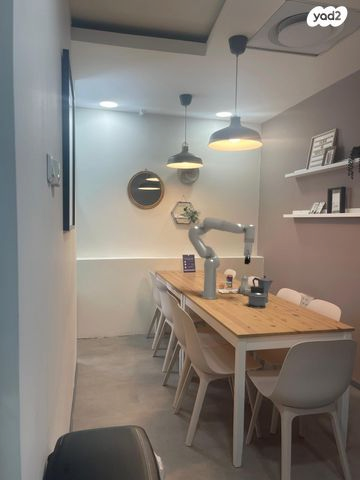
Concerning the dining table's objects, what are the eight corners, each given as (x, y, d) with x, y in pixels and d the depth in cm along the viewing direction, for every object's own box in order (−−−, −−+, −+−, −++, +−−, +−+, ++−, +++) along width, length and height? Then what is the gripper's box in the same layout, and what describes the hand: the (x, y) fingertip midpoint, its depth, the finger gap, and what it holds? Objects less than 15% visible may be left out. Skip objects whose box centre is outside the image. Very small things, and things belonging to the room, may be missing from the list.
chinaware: (254, 299, 280) (257, 279, 278) (234, 295, 285) (237, 275, 284) (258, 293, 306) (261, 275, 305) (240, 289, 311) (242, 271, 310)
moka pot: (272, 303, 260) (273, 277, 259) (251, 301, 263) (252, 275, 262) (271, 300, 269) (272, 275, 268) (251, 299, 272) (252, 274, 271)
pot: (247, 307, 245) (247, 294, 244) (248, 303, 257) (249, 291, 256) (265, 309, 241) (265, 296, 241) (266, 305, 253) (266, 293, 253)
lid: (247, 294, 244) (247, 287, 244) (248, 291, 257) (249, 284, 256) (266, 296, 241) (266, 289, 240) (266, 293, 253) (267, 286, 253)
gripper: (245, 240, 268) (243, 261, 269) (242, 241, 251) (240, 264, 252) (255, 240, 265) (253, 262, 266) (253, 241, 249) (251, 265, 250)
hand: (247, 263), depth 259 cm, fingers open, 9 cm apart
